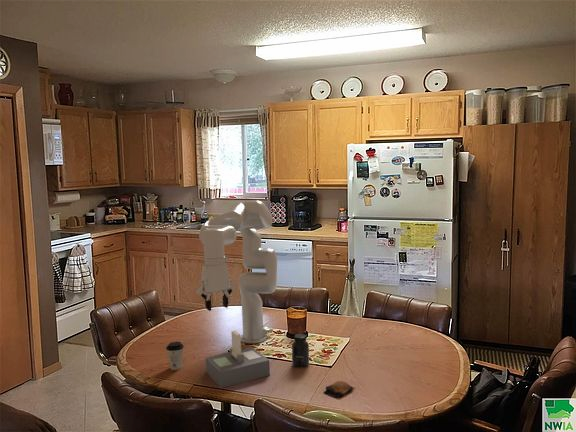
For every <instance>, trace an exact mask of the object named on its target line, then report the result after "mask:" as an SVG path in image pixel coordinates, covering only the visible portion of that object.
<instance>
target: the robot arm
mask: <svg viewBox="0 0 576 432" xmlns="http://www.w3.org/2000/svg"><path fill="white" fill-rule="evenodd" d="M272 224H273V215H272V213H271V211H270V209H269V208H268V207H267V206H266V205H265V203H264V202H262V201H260V200H238V201H236V202H234V204H232V205H231V207H230V208H229V209H228V210H227V211H226V212H224V213H222V214H219V215H216V216H214V217H211V218H209V219H207V220H206V221H205V222H204V223H203V224H202V226H201V227H200V230H199V231H198V232H199V233H198V238H199V241H200V242H201V244H203V254H204V257H203V258H204V259H203V260H204V264H203V265H202V269H201V277H200V278H201V279H200V280H201V281H200V282H201V283H200V285H199V286H198V288H197V289H196V291H195V292H196V294H197V295H199V296H200V297H201V298H202V299H204V301H205V303H204V304H205V309H206V310H207V311H209V312H211V311H212V302H211V300H210V299H211V298H210V297H211V295H212V293H218V292H222V293H223V296H222V307H223V308H225V309H228V305H229V297H230V295H231V294H232V292H233V291H234V289H236V285H235V283H234V282H233V281H232V280H231V279H230V273H229V268H228V265H227V263H226V261H229V257H228V256H226V255H225V254H226V253H225V246H227V245H228V246H229V245H232V244H233V243H234V242H236V240H237V234H238V233H237V231H238V230H239V232H240V234H241V238H242V265H243V267H244V268H245V269H250V270H265V271H262V272H261V271H246V272H243V273H241V274H240V275H239V277H238V288H239V291H240V298H241V316H242V317H241V318H242V321H241V322H242V334H240V339H241V342H242V343H244V344H259V343H262V342H264V341H266V340H267V339H268V335H267V334H268V333H273V331H274V328H273V327H269V328H268V327H264V313H263V310H264V309H263V300H262V298H261V296H260V295H259V294H273V293H275V291H276V289H277V283H278V281H277V280H278V257H277V253H276V251H275V250H274V249H272V248H263V247H262V237H261V234H260V233H259V232H258V230H267V229H270V228H271V226H272ZM202 291H204V292H202Z"/></svg>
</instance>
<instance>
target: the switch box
mask: <svg viewBox="0 0 576 432" xmlns="http://www.w3.org/2000/svg"><path fill="white" fill-rule="evenodd" d="M231 353H232V347H231V348H229V351H228V352H225V353H221V354H217V355H216V354H215V355H212V356H207V357H205V369H206V371H205V372H206V374H207V375H208V376H209V377H210V378H211V379H212V380H213V382H215V383H216V384H217V385H218V387H219V388H220V389H222V388H227V387H230V386H234V385H237V384H241V383H245V382H248V381H252V380H256V379H260V378H263V377H268V376H271V371H270V370H271V369H270V368H271V367H270V359H268V358H267V357H266V356H264V355H263V354H262V353H260V352H259V351H258V350H257V349H255V348H254V347H252V346H250V347H246V348H241V354H238V355H237V359H236V358H235V357H234V356H232V354H231Z"/></svg>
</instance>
